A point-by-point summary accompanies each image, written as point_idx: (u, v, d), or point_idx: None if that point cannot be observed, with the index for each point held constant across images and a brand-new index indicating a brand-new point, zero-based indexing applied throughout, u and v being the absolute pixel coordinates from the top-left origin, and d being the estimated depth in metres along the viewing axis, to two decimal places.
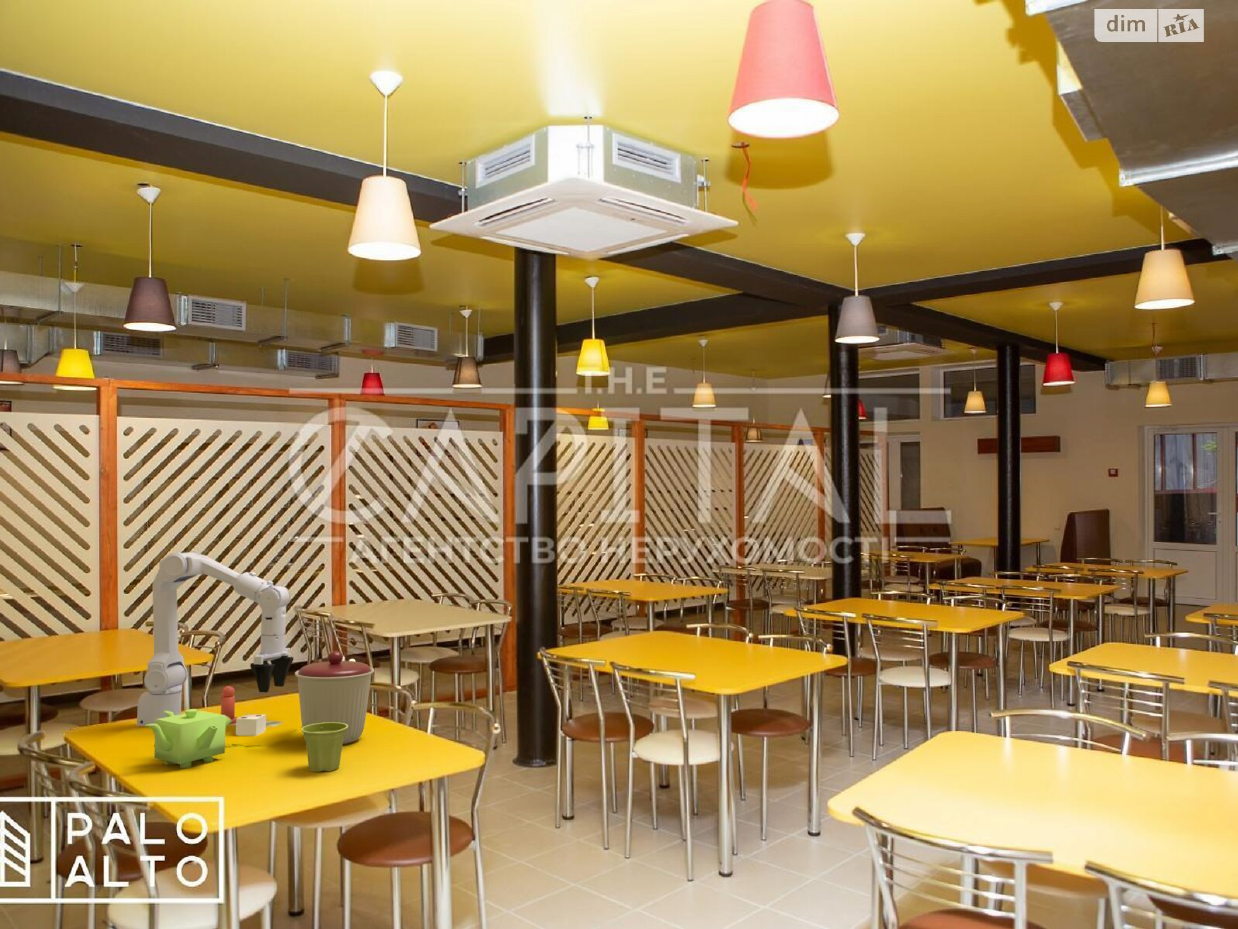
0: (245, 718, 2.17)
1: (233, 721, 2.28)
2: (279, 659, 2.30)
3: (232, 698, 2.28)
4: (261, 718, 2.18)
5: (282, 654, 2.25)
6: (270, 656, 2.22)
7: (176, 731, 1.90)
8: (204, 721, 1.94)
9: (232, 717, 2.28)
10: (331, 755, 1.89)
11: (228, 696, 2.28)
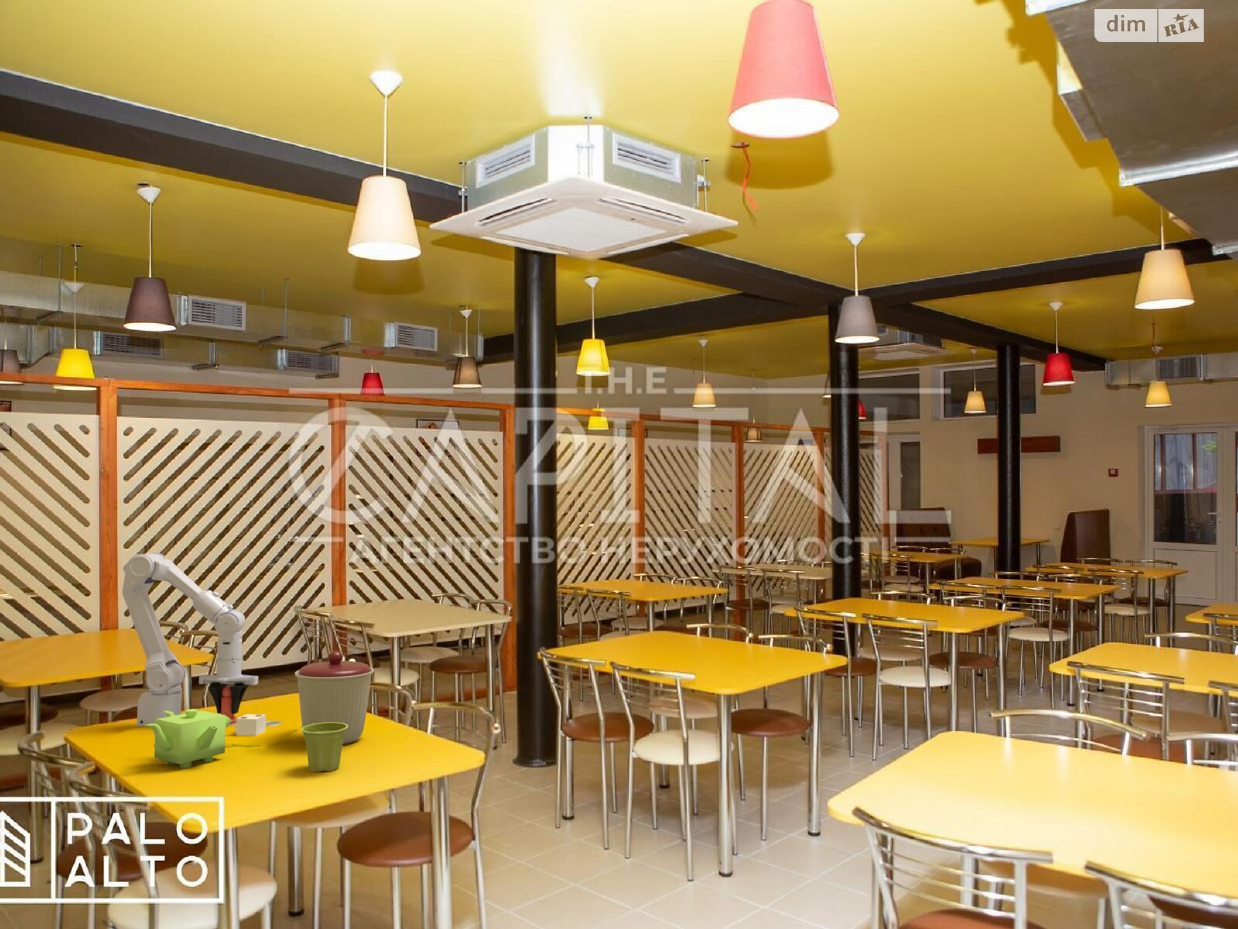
0: (245, 717, 2.17)
1: (233, 721, 2.28)
2: None
3: None
4: (261, 718, 2.18)
5: None
6: (209, 678, 2.28)
7: (176, 731, 1.90)
8: (204, 721, 1.94)
9: (232, 717, 2.28)
10: (331, 755, 1.89)
11: (228, 696, 2.28)
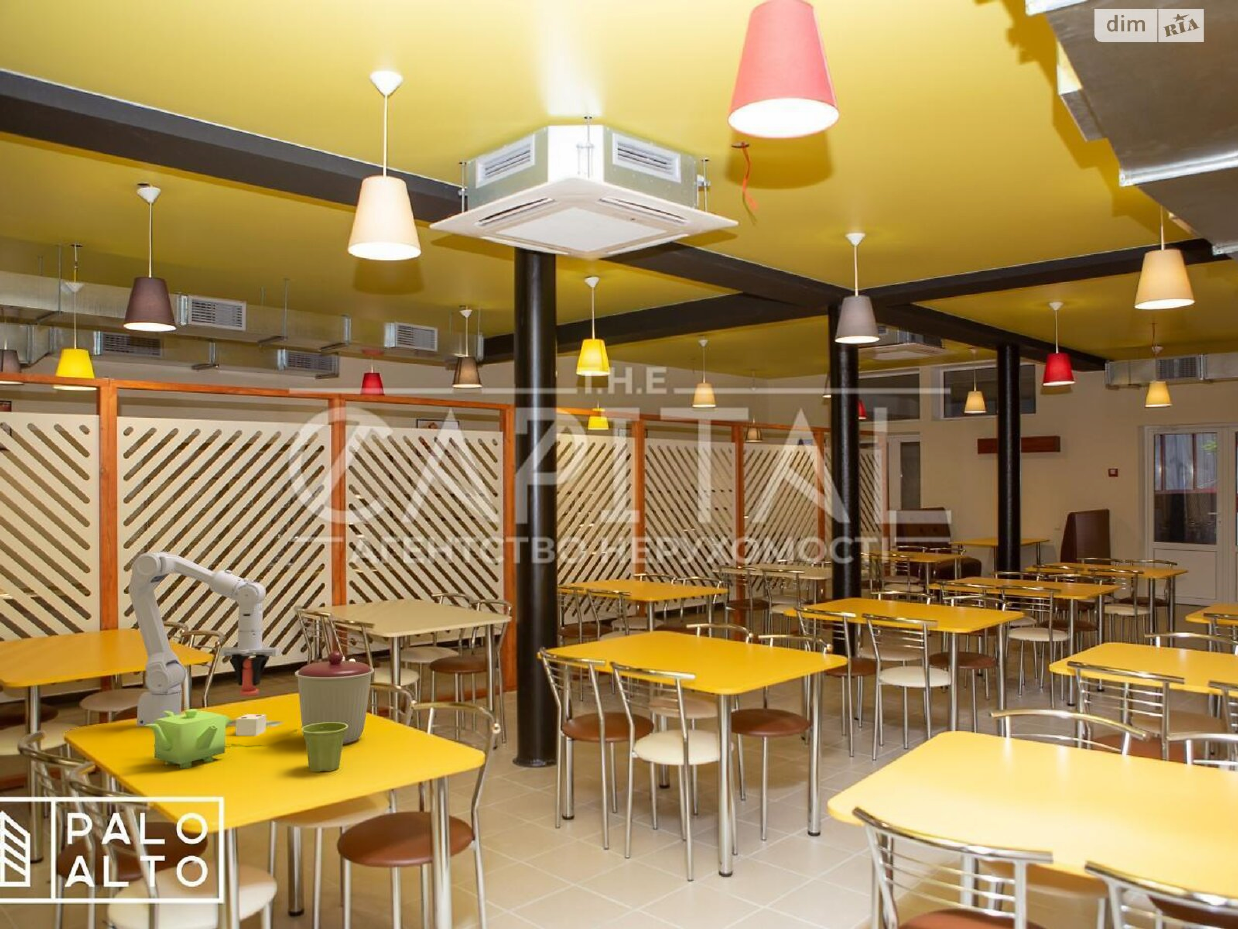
0: (245, 717, 2.17)
1: (254, 693, 2.28)
2: None
3: None
4: (261, 718, 2.18)
5: None
6: (230, 650, 2.28)
7: (176, 731, 1.90)
8: (204, 721, 1.94)
9: (253, 689, 2.28)
10: (331, 755, 1.89)
11: (249, 668, 2.28)
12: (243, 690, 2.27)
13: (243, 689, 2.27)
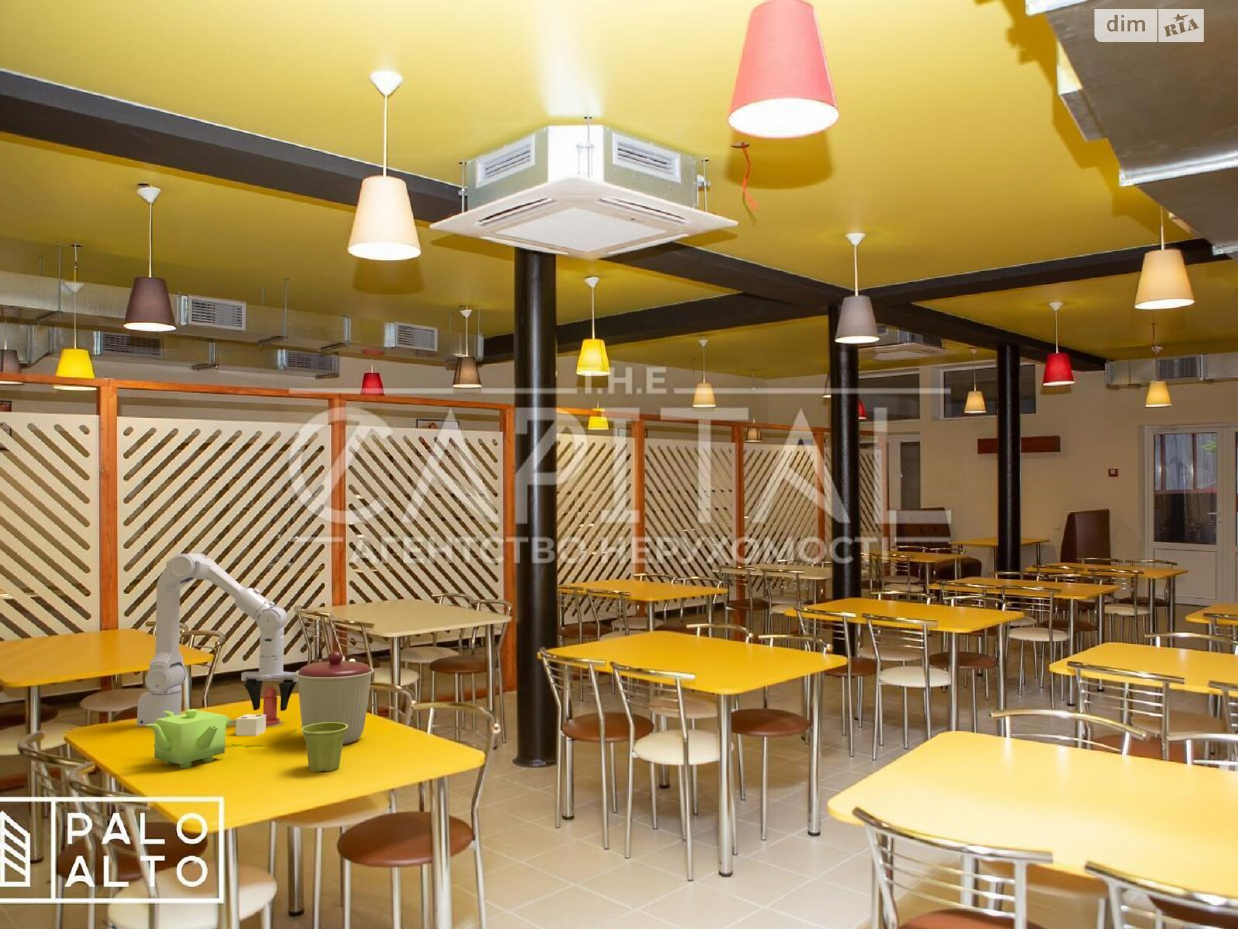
0: (245, 718, 2.17)
1: (275, 722, 2.27)
2: None
3: (274, 699, 2.28)
4: (261, 718, 2.18)
5: None
6: (251, 675, 2.27)
7: (176, 731, 1.90)
8: (204, 721, 1.94)
9: (274, 718, 2.27)
10: (331, 755, 1.89)
11: (270, 697, 2.27)
12: None
13: None
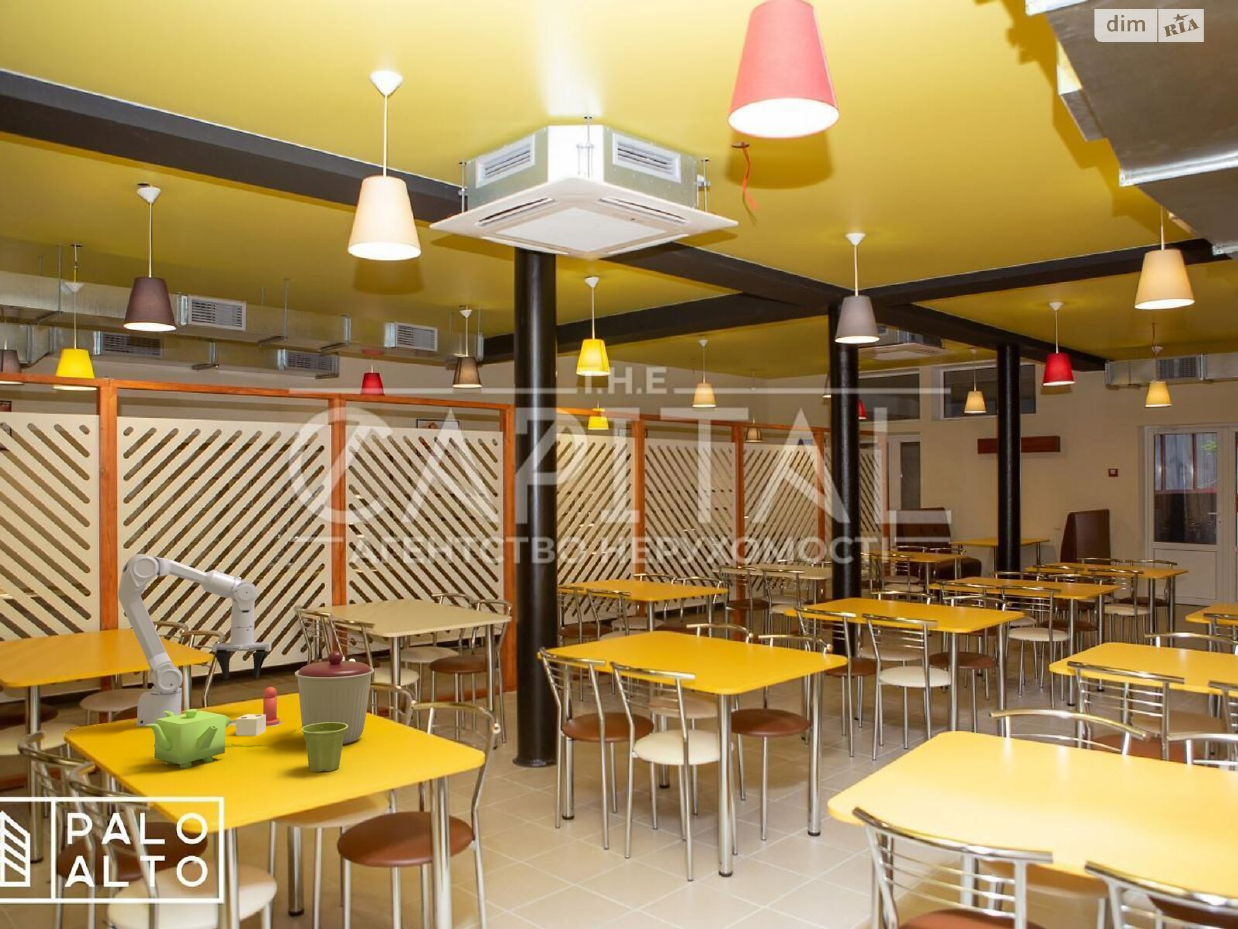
0: (245, 718, 2.17)
1: (275, 722, 2.27)
2: None
3: (274, 699, 2.28)
4: (261, 718, 2.18)
5: None
6: (223, 646, 2.36)
7: (176, 731, 1.90)
8: (204, 721, 1.94)
9: (274, 718, 2.27)
10: (331, 755, 1.89)
11: (270, 697, 2.27)
12: None
13: None
